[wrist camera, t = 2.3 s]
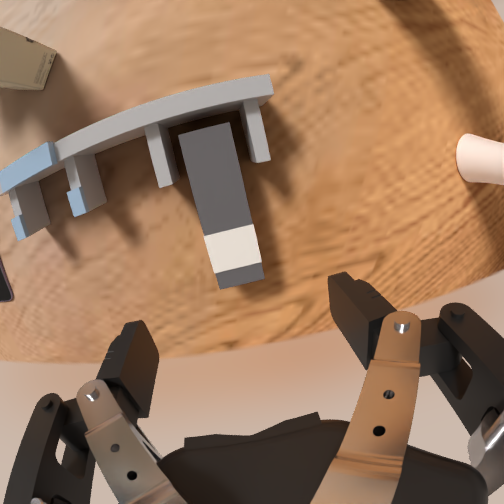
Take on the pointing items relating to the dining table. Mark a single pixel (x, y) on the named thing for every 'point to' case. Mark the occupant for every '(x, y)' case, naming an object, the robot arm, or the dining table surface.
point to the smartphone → (4, 286)
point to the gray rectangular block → (222, 204)
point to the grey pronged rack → (122, 130)
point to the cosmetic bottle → (480, 159)
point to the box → (23, 62)
